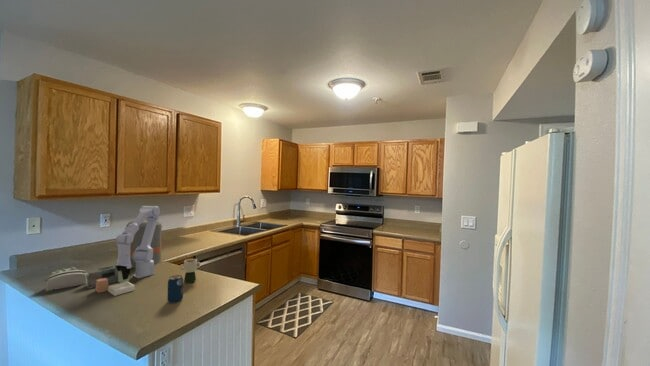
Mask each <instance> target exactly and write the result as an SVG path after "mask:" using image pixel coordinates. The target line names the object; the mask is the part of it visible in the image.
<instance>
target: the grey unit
mask: <svg viewBox="0 0 650 366" xmlns="http://www.w3.org/2000/svg"><path fill="white" fill-rule="evenodd" d="M87 273H88V275H87V277H88V279H87V284H84V287H86V288H88V289H92V288H96V280H98V279H103V278H106V279H108V284H112V283H116V282H118V270H117V268H116V265H115V266H114V265H108V266H104V267H98V268H97V269H96V270H91V271H88V272H87Z"/></svg>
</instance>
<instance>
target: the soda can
mask: <svg viewBox="0 0 650 366" xmlns="http://www.w3.org/2000/svg"><path fill="white" fill-rule="evenodd" d="M183 298H184V278H183V276H182V275H180V274H177V275H172V276H169V279H168V281H167V302H168V303H169V304H176V303H179V302H181V301H182V300H183Z"/></svg>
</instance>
